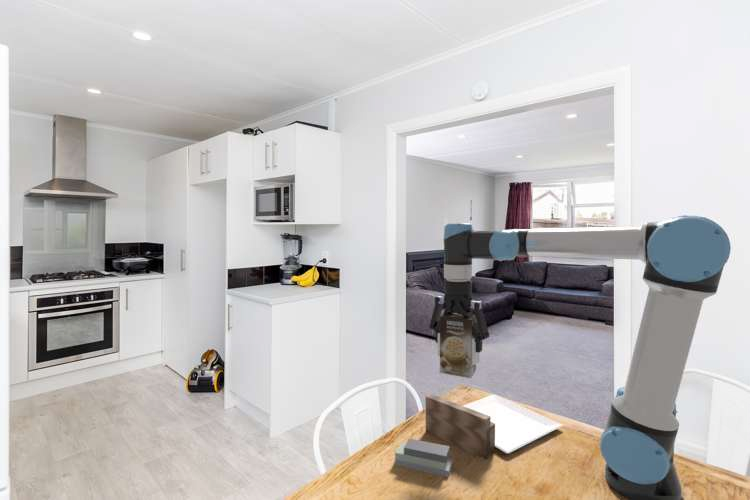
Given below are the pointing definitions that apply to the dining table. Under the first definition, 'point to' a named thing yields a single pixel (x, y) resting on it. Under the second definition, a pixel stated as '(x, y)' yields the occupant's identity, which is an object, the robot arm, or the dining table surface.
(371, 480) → the dining table surface
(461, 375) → the coffee box
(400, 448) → the sleeved eraser
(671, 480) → the robot arm
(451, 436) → the walnut block
